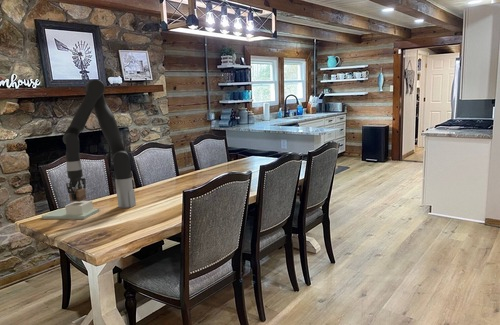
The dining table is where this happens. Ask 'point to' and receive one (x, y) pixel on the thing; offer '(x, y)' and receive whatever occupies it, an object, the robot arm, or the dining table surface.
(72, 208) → the block
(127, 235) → the dining table surface
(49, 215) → the serving board
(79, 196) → the walnut cube
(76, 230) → the dining table surface
